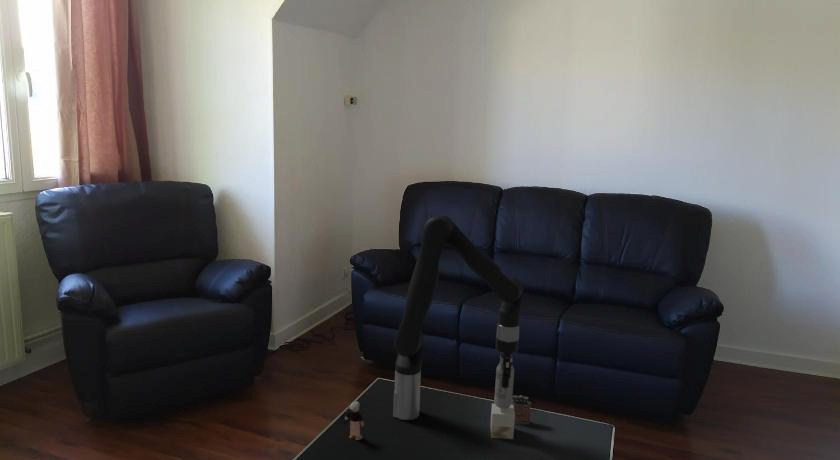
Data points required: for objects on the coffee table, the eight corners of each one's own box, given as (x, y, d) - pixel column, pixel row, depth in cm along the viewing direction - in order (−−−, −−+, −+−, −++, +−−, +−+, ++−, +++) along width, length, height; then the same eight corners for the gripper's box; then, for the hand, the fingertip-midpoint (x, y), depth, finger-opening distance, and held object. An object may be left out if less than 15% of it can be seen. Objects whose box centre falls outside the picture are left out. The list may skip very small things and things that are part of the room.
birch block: (491, 438, 207) (491, 425, 206) (490, 427, 214) (491, 415, 213) (513, 439, 206) (514, 427, 206) (511, 428, 214) (512, 416, 213)
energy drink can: (515, 406, 207) (518, 365, 205) (501, 410, 204) (504, 369, 202) (503, 399, 212) (506, 359, 210) (490, 403, 209) (493, 362, 206)
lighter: (529, 420, 220) (531, 394, 218) (530, 425, 216) (532, 399, 214) (507, 418, 220) (508, 393, 218) (507, 423, 217) (509, 397, 215)
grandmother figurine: (367, 436, 205) (368, 401, 202) (362, 441, 201) (363, 406, 199) (346, 431, 207) (347, 397, 205) (341, 437, 203) (342, 402, 201)
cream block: (491, 425, 206) (492, 413, 205) (491, 415, 213) (491, 403, 213) (514, 427, 206) (514, 415, 205) (512, 416, 213) (513, 404, 212)
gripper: (495, 328, 211) (492, 373, 214) (497, 343, 197) (494, 391, 200) (516, 330, 211) (513, 375, 214) (520, 345, 196) (517, 393, 200)
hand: (504, 383), depth 207 cm, fingers closed on energy drink can, 6 cm apart
